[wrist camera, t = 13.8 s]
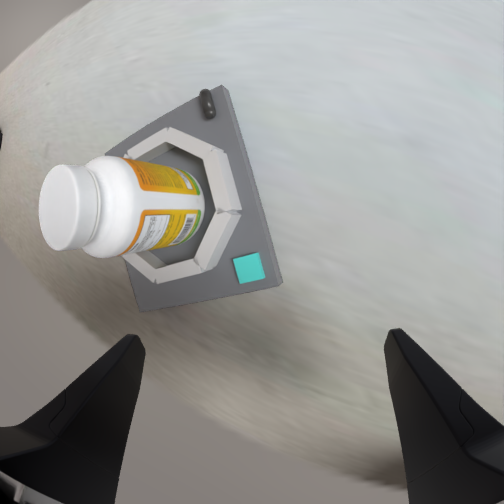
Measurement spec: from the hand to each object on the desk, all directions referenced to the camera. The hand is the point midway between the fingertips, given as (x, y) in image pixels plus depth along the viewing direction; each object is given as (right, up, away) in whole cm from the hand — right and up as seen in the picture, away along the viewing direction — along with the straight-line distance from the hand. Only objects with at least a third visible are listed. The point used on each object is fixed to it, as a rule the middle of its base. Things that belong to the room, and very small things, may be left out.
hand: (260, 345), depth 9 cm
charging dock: (-6, +7, +11) cm, 14 cm away
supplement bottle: (-6, +6, +10) cm, 13 cm away
